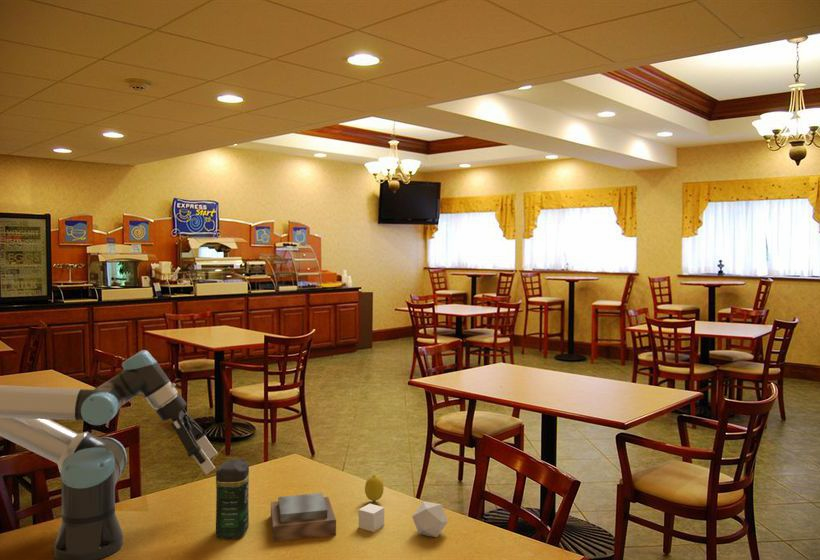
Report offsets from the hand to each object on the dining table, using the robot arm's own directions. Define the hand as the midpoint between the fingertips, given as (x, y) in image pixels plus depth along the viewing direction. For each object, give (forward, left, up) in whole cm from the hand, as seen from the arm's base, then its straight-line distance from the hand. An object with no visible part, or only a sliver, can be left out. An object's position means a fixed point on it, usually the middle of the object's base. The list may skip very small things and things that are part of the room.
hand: (212, 463), depth 172 cm
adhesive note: (+42, -17, -15) cm, 47 cm away
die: (+56, -25, -15) cm, 63 cm away
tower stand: (+24, -12, -15) cm, 30 cm away
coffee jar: (+6, -12, -15) cm, 20 cm away
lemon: (+46, -1, -15) cm, 48 cm away
